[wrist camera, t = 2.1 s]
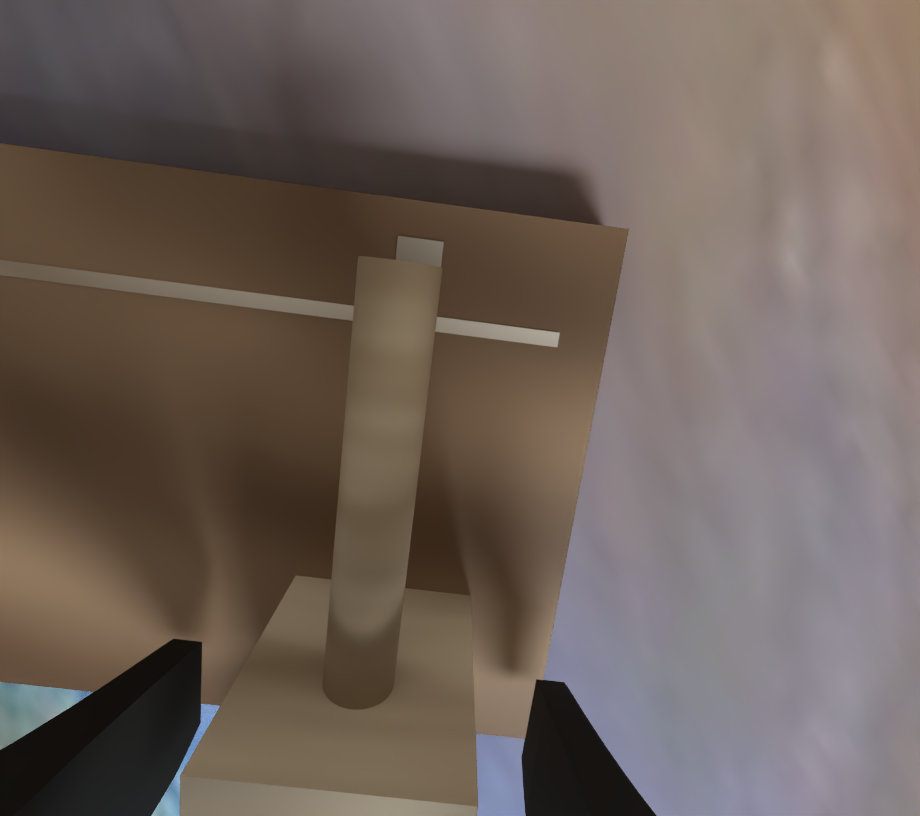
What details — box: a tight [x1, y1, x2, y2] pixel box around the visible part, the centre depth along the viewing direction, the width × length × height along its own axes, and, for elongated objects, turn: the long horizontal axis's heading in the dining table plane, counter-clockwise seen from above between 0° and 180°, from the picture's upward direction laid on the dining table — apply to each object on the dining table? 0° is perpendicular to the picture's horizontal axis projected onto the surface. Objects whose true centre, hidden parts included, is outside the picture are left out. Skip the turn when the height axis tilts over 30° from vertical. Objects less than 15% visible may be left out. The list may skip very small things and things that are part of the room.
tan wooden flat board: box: [0, 143, 629, 739], centre depth 12 cm, size 12×24×2 cm, turn 83°
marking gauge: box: [180, 256, 478, 816], centre depth 10 cm, size 12×5×6 cm, turn 173°
